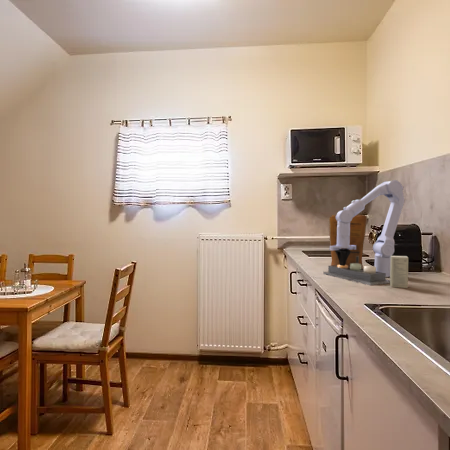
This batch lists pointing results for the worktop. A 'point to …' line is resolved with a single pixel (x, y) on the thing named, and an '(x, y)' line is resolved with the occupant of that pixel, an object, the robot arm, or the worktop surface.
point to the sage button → (355, 266)
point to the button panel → (357, 275)
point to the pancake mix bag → (355, 239)
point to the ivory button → (370, 269)
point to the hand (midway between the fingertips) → (342, 265)
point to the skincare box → (399, 271)
